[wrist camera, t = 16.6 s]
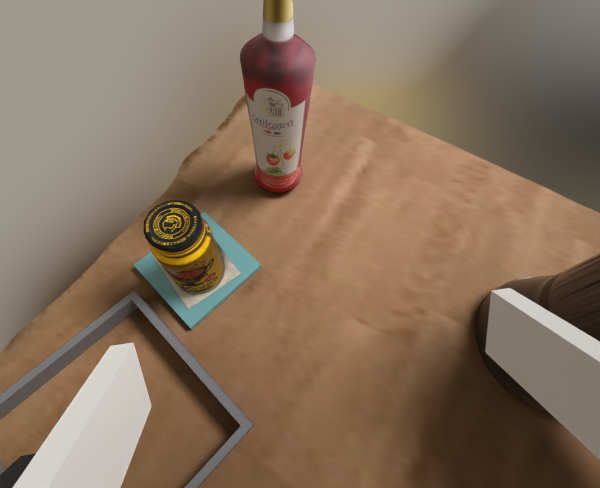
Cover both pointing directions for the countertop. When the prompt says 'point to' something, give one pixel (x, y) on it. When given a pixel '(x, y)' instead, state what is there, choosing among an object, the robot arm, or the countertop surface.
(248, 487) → the countertop surface
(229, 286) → the coaster
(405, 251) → the countertop surface
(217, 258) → the condiment
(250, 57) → the liquor
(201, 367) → the frame
